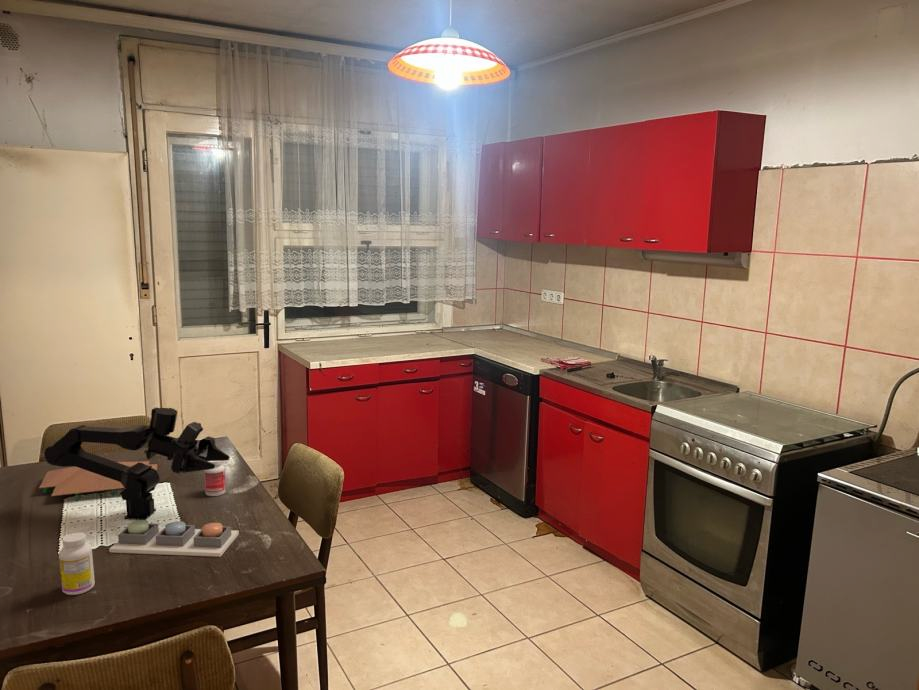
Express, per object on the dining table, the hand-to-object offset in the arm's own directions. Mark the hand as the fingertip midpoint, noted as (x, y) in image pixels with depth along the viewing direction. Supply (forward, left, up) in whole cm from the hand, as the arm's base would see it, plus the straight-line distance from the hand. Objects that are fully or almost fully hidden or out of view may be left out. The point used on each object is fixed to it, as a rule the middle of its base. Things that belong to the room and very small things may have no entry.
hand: (221, 462), depth 191 cm
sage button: (-18, -14, -15) cm, 27 cm away
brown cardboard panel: (-49, +22, -18) cm, 57 cm away
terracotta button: (+2, -14, -15) cm, 21 cm away
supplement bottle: (-20, -38, -18) cm, 46 cm away
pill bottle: (-11, +20, -18) cm, 29 cm away
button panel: (-8, -14, -18) cm, 24 cm away
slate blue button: (-8, -14, -15) cm, 22 cm away
